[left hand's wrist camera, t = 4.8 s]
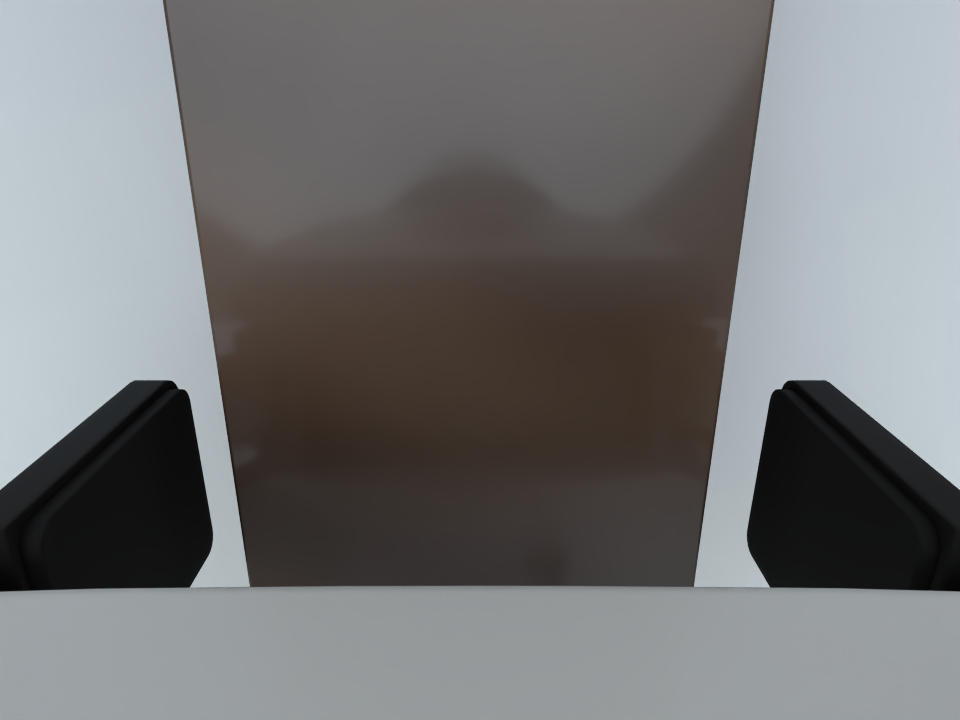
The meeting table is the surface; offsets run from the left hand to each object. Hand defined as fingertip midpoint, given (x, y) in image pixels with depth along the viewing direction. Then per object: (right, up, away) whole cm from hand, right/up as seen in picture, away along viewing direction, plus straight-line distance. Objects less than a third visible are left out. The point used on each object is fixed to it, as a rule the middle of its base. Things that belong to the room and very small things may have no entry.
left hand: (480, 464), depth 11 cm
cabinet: (0, +8, +6) cm, 10 cm away
